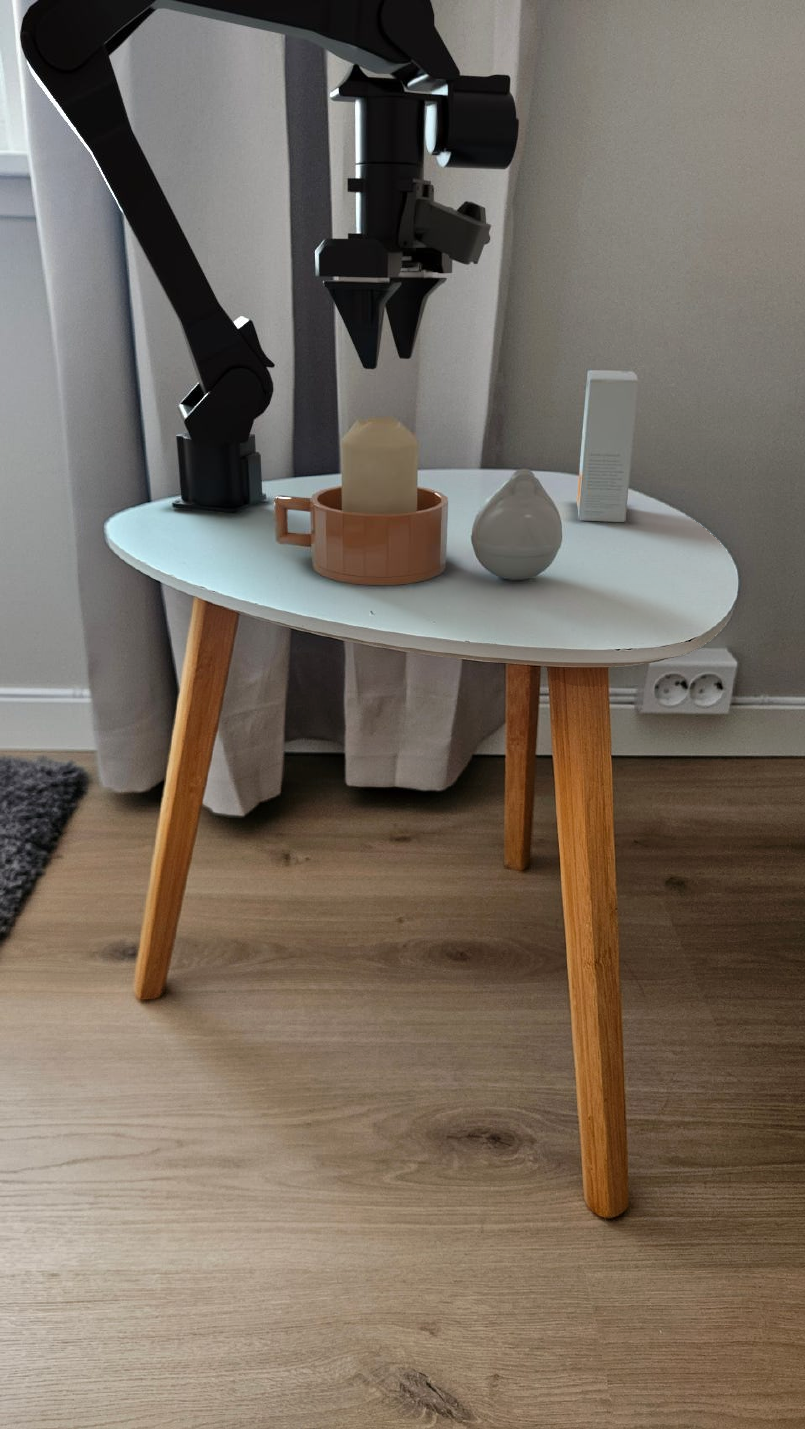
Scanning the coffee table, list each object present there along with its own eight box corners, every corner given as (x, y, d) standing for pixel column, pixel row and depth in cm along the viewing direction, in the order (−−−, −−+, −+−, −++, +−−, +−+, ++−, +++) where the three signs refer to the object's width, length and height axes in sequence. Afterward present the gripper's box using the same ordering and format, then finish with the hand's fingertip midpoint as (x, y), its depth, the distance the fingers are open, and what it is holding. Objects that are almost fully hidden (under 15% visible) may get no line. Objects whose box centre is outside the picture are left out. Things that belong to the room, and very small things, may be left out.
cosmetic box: (575, 504, 93) (587, 369, 88) (621, 506, 92) (636, 371, 87) (576, 521, 87) (589, 378, 82) (625, 523, 87) (641, 379, 82)
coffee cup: (461, 554, 78) (464, 490, 75) (421, 592, 69) (423, 521, 67) (303, 536, 82) (301, 475, 79) (246, 570, 73) (243, 502, 71)
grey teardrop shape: (542, 561, 76) (550, 455, 73) (570, 589, 70) (580, 475, 66) (458, 564, 75) (462, 456, 72) (479, 593, 69) (485, 477, 66)
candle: (408, 569, 72) (410, 427, 67) (334, 564, 73) (331, 423, 68) (422, 549, 77) (425, 415, 72) (352, 544, 78) (351, 411, 73)
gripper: (450, 156, 73) (443, 380, 79) (510, 172, 88) (500, 358, 95) (310, 158, 76) (314, 373, 82) (392, 173, 92) (391, 352, 98)
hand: (388, 363), depth 90 cm, fingers open, 9 cm apart
